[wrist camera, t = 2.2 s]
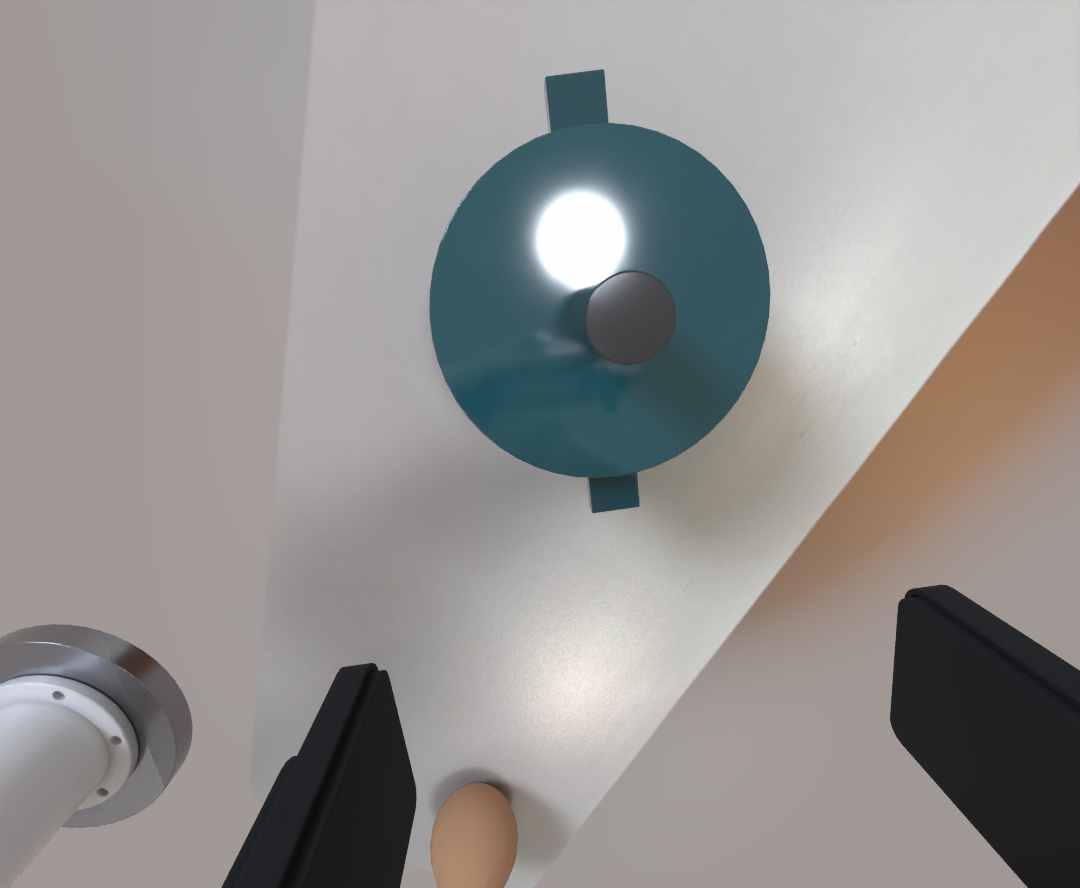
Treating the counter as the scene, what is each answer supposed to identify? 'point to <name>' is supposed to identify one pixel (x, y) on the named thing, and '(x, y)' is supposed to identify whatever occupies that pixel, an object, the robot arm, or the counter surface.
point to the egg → (474, 839)
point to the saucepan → (566, 107)
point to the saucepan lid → (599, 300)
